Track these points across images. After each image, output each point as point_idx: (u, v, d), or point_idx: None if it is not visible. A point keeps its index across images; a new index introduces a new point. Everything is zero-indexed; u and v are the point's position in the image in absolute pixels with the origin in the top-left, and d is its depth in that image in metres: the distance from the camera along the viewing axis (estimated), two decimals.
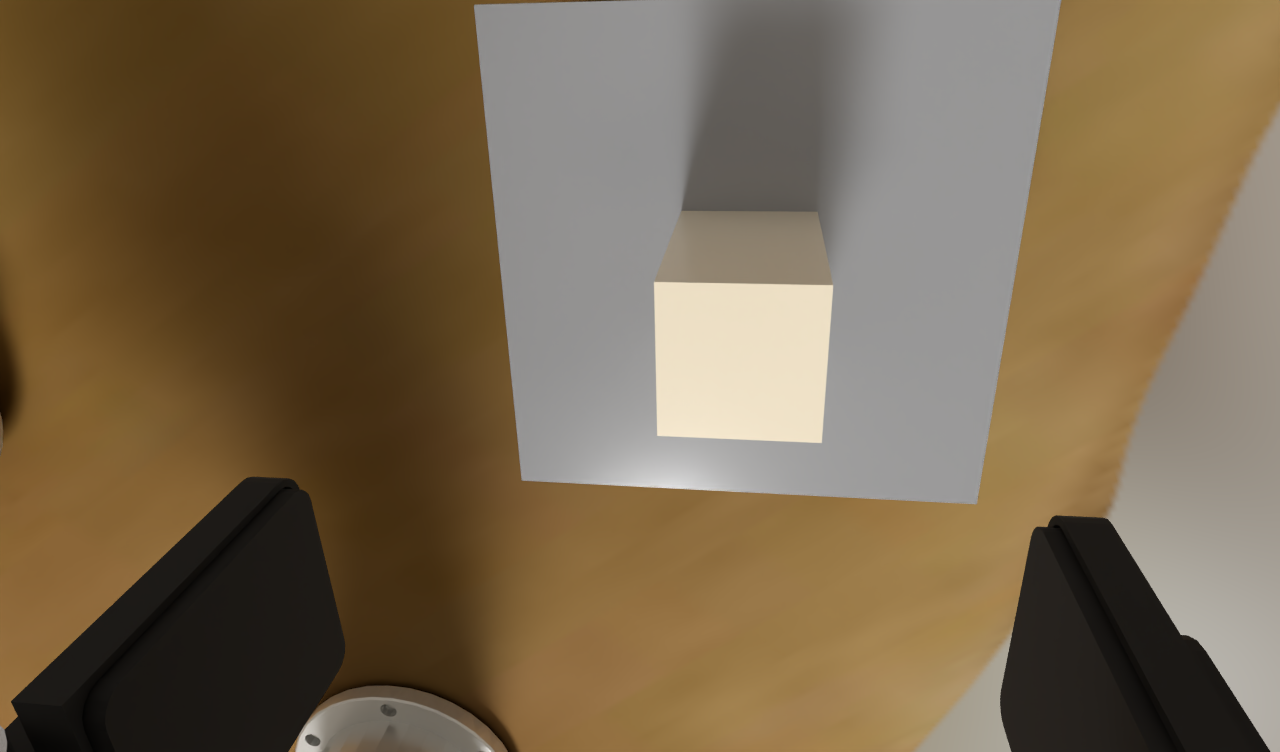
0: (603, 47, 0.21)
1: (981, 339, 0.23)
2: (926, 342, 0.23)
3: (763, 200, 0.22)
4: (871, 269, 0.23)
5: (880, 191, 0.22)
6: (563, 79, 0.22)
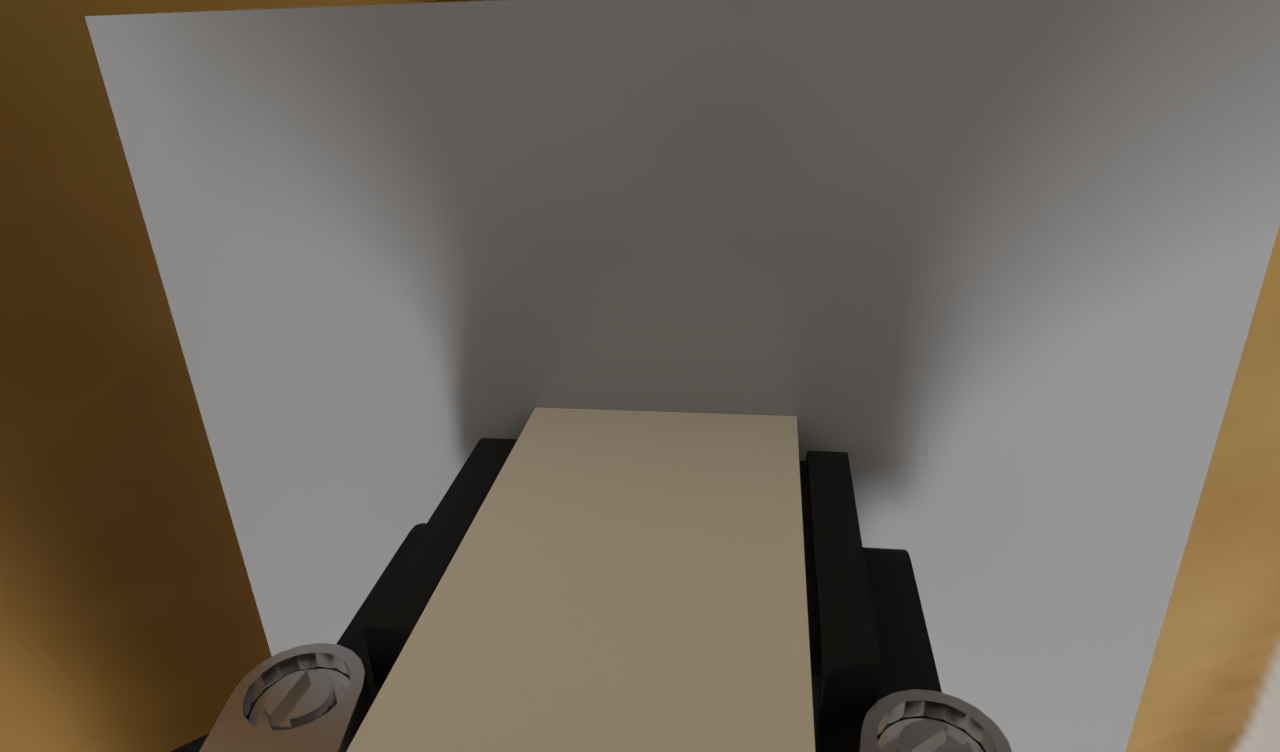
0: (350, 101, 0.10)
1: (1113, 641, 0.12)
2: (1005, 642, 0.12)
3: (690, 394, 0.11)
4: (902, 519, 0.12)
5: (921, 383, 0.11)
6: (282, 164, 0.11)
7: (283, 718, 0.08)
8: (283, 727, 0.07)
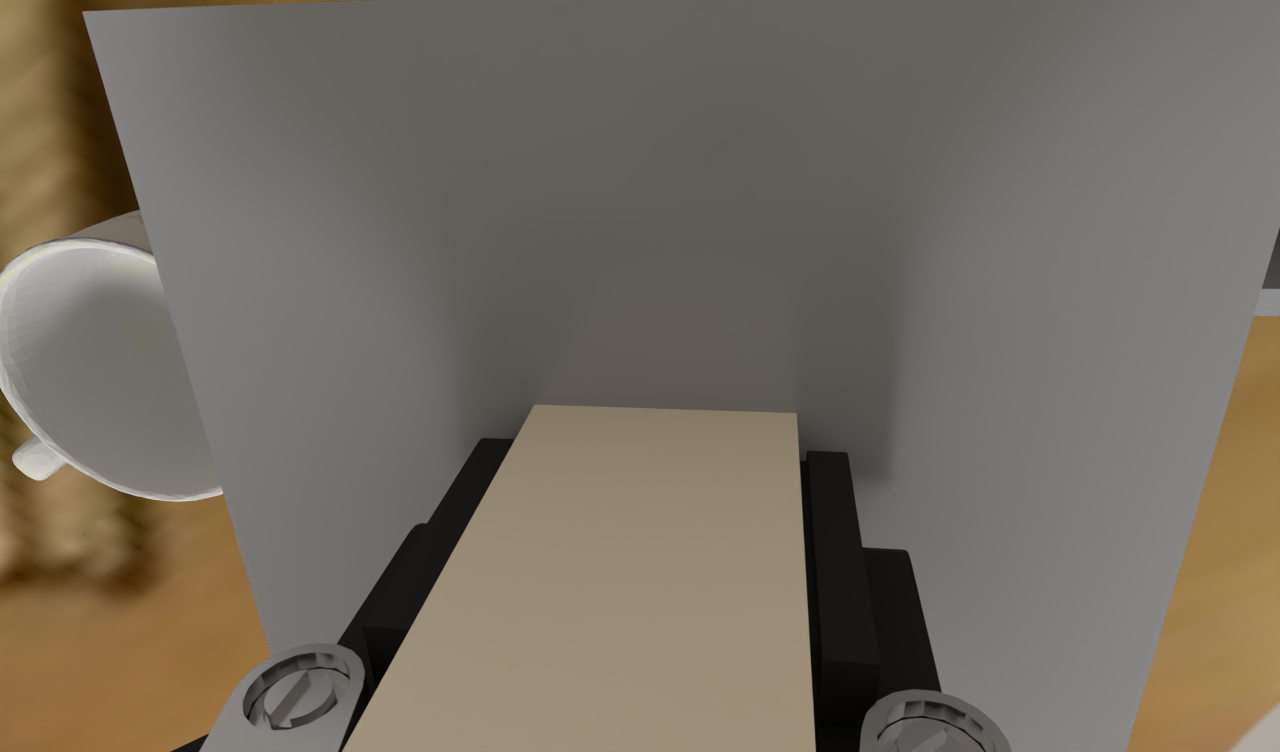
0: (349, 97, 0.10)
1: (1114, 640, 0.12)
2: (1006, 640, 0.12)
3: (690, 391, 0.11)
4: (903, 516, 0.12)
5: (922, 379, 0.11)
6: (280, 160, 0.11)
7: (283, 718, 0.08)
8: (283, 727, 0.07)
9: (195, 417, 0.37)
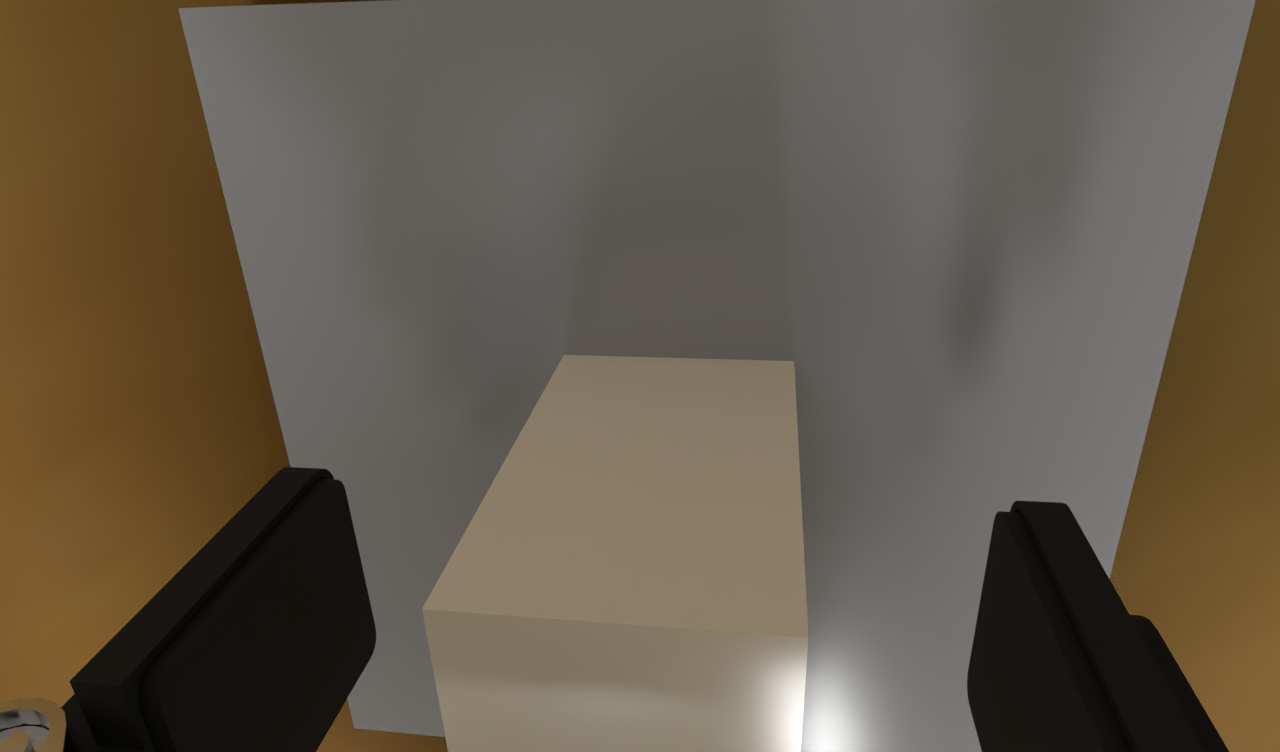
0: (408, 82, 0.12)
1: None
2: (979, 566, 0.14)
3: (700, 341, 0.13)
4: (887, 454, 0.13)
5: (903, 330, 0.12)
6: (346, 137, 0.12)
7: None
8: None
9: None
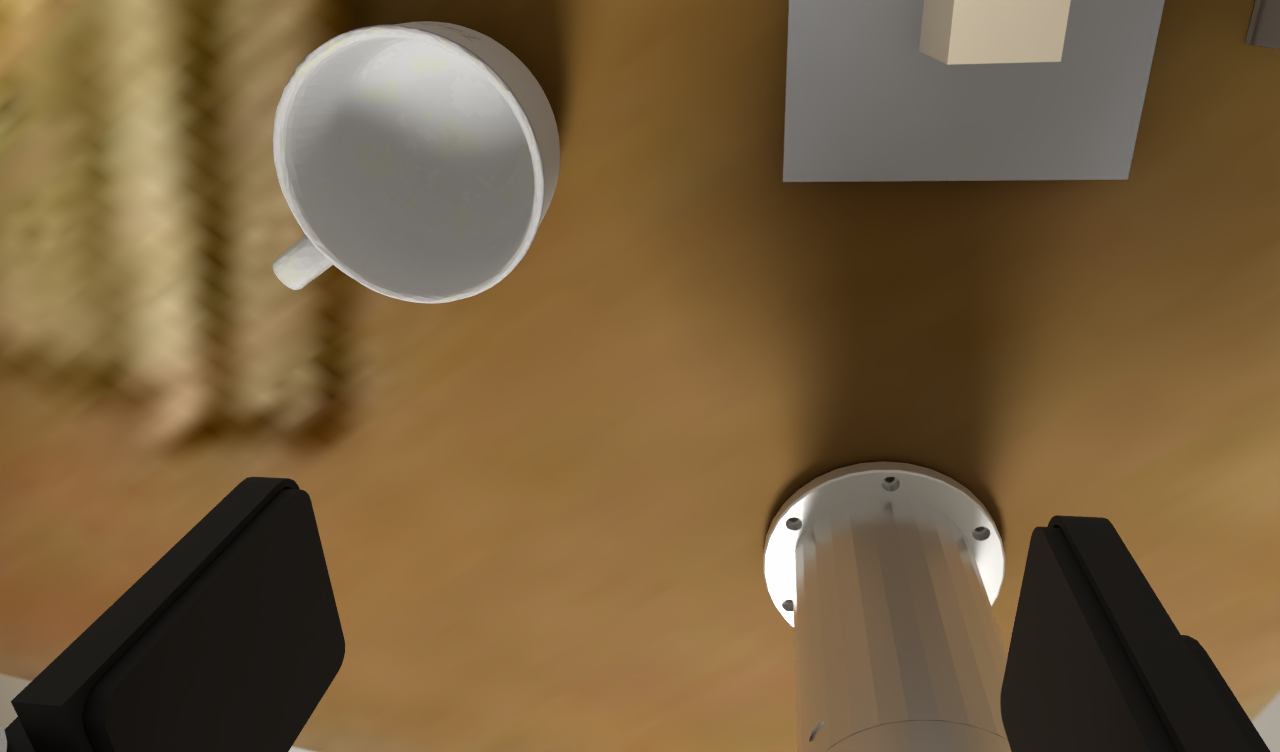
0: None
1: (1140, 41, 0.32)
2: (1099, 46, 0.33)
3: None
4: None
5: None
6: None
7: None
8: None
9: (424, 243, 0.39)
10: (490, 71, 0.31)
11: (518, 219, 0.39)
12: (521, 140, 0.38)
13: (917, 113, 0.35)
